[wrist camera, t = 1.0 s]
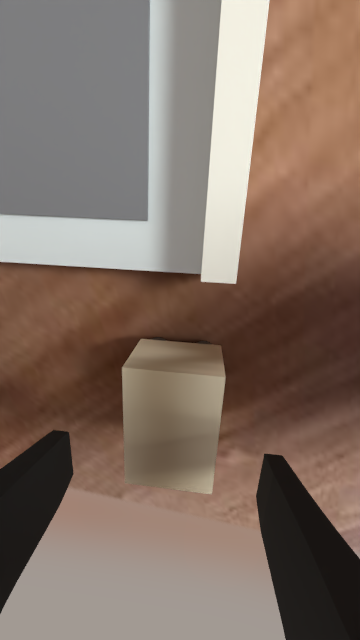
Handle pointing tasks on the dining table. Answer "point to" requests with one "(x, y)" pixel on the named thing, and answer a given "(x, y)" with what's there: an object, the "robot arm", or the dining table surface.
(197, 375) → the cream rectangular block
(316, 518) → the robot arm
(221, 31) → the dock
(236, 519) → the dining table surface
